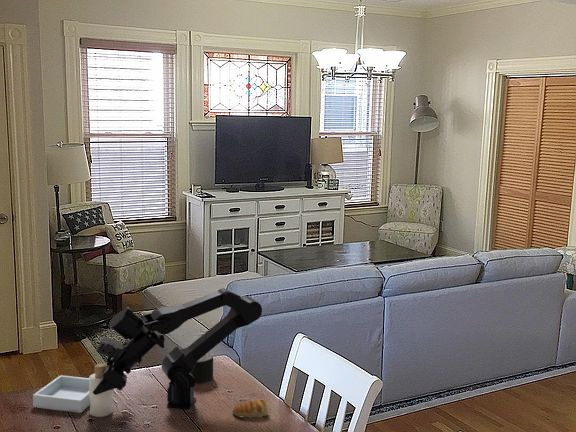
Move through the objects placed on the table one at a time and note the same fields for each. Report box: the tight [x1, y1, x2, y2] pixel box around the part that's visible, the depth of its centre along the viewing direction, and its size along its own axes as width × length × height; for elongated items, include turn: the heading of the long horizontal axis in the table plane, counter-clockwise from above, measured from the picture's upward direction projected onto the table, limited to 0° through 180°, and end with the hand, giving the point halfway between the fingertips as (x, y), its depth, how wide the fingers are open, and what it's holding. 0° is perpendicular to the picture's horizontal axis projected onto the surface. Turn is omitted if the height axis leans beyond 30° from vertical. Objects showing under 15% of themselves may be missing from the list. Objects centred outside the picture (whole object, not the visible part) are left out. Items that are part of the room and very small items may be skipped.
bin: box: [32, 374, 90, 414], centre depth 182 cm, size 14×14×4 cm
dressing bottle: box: [88, 363, 114, 418], centre depth 174 cm, size 6×6×13 cm
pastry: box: [232, 398, 269, 418], centre depth 176 cm, size 9×7×4 cm
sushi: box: [191, 351, 214, 384], centre depth 198 cm, size 8×8×8 cm
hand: (95, 388), depth 174 cm, fingers closed on dressing bottle, 6 cm apart
